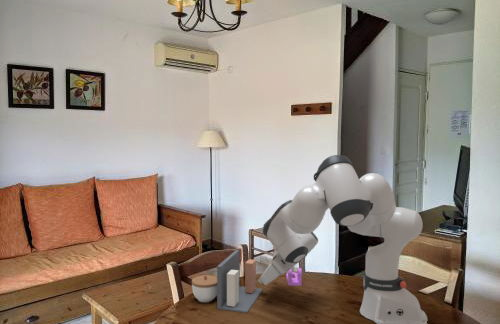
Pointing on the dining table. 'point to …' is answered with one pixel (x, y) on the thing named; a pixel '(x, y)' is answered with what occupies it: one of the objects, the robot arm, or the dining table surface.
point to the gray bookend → (244, 298)
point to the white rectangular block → (232, 287)
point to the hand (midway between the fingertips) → (259, 281)
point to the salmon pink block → (250, 276)
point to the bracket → (297, 279)
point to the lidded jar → (204, 287)
